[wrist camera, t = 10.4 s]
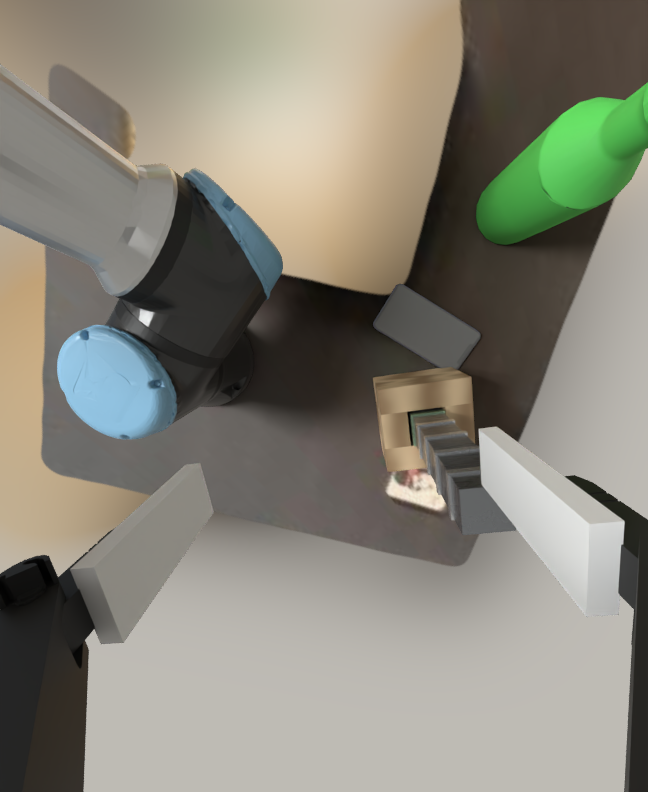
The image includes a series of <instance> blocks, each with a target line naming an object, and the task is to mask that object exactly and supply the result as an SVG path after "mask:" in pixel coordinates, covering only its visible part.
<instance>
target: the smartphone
mask: <svg viewBox="0 0 648 792" xmlns="http://www.w3.org/2000/svg"><path fill="white" fill-rule="evenodd" d="M373 326H374V328H375V329H376V330H378V331H379V332H381V333H383V334H384V335H386V336H388V337H389V338H391V339H393V340H394V341H396V342H397V343H399V344H401V345H402V346H404V347H406V348H407V349H409V350H411V351H412V352H414V353H415V354H417V355H419V356H420V357H422V358H423V359H425V360H427V361H428V362H430V363H432V364H433V365H435V366H437V367H438V368H447V367H452V368H454V369H456V370H458V369H459V367H460V366H461V364H462V363H463V362H464V360H465V359H466V357H467V356H468V355H469V353H470V352H471V351H472V349H473V348H474V346H475V345H476V344H477V342H478V341H479V339H480V333H479V331H477V330H476V329H474V328H473V327H471V326H469V325H468V324H466V323H465V322H463V321H461V320H460V319H458V318H457V317H455V316H453V315H452V314H450V313H448V312H447V311H445V310H444V309H442V308H440V307H439V306H437V305H436V304H434V303H432V302H431V301H429V300H427V299H426V298H424V297H423V296H421V295H419V294H418V293H416V292H414V291H413V290H411V289H410V288H408V287H406V286H405V285H403V284H398V285H396V287H395V288H394V290H393V291H392V293H391V295H390V296H389V298H388V299H387V301H386V303H385V304H384V306H383V308H382V309H381V311H380V313H379V314H378V316H377V317H376V319H375V321H374V322H373Z"/></svg>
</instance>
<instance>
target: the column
mask: <svg viewBox="0 0 648 792" xmlns="http://www.w3.org/2000/svg"><path fill="white" fill-rule="evenodd" d="M408 420H409V430H410V435H411V437H412V439H413V445H414V446H416V447H417V449H418V451H419V457H420V459H423V460H424V462H425V464H426V466H427V473H428V475H431V476H432V477H433V479H434V481H435V483H436V488H437V493H438V495H440V494H441V495H442V497H443V499H444V500H445V502H446V504H447V506H448V508H449V516H450V518H451V520H455V521H456V523H457V525H458V527H459V529H460V531H461V533H462V535H469V534H481V533H492V532H503V531H515V530H516V527H515V526H514V525H513V524H512V522H511V521H510V520H509V519H508V517H507V516H506V515H505V513H504V512H503V511H502V510H501V508H500V507H499V506H498V505H497V503H496V502H495V501H494V500H493V498H492V497H491V496H490V495H489V493H488V492H487V491H486V490H485V488H484V487H483V486H482V484H481V465H480V446H479V445H478V446H477V445H476V444H475V443H474V442H473V441H472V440H471V439H470V438H469V437H468V433H467V432H466V431H462V430H461V429H460V428H459V427H458V426H457V425H456V424H455V420H454V419H450V418H449V417H448V416H447V415H446V414H445V410H444V409H442V410H441V409H440V408H431V409H423V410H416V411H408Z"/></svg>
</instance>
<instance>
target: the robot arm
mask: <svg viewBox="0 0 648 792" xmlns="http://www.w3.org/2000/svg"><path fill="white" fill-rule="evenodd" d="M0 225H2V226H4V227H6V228H9V229H11V230H13V231H15V232H17V233H20V234H22V235H24V236H26V237H29V238H31V239H33V240H35V241H37V242H39V243H42V244H44V245H46V246H48V247H50V248H53V249H55V250H57V251H59V252H61V253H64V254H66V255H68V256H70V257H72V258H75V259H77V260H79V261H81V262H83V263H85V264H88V265H90V267H91V268H92V269H93V270H94V271H95V273H96V275H97V277H98V279H99V281H100V282H101V284H102V286H103V288H104V289H105V291H106V292H107V293H109V294H111V295H113V296H115V297H118V298H120V299H119V301H118V302H117V304H116V306H115V308H114V310H113V311H112V313H111V315H110V317H109V319H108V320H107V322H106V324H105V325H93V326H90V327H88V328H85V329H83V330H81V331H78V332H76V333H74V334H73V335H72V336H70V337H69V338H68V339H67V340H66V342H65V343H64V344H63V346H62V348H61V350H60V353H59V357H58V363H57V373H58V379H59V383H60V387H61V389H62V390H63V391H64V393H65V395H66V398H67V402H68V403H69V405H70V406H71V408H72V409H73V410H74V412H75V413H76V414H77V415H78V416H79V417H80V418H81V419H82V420H83V421H84V422H86V423H87V424H88V425H89V426H91V427H92V428H94V429H95V430H97V431H99V432H101V433H103V434H105V435H108V436H110V437H114V438H118V439H140V438H144V437H147V436H149V435H152V434H154V433H157V432H159V431H163V430H164V429H166V428H167V427H168V426H169V425H171V424H172V423H174V422H175V421H177V420H179V419H180V418H182V417H184V416H185V415H187V414H188V413H190V412H192V411H193V410H195V409H197V408H198V407H214V406H219V405H222V404H225V403H227V402H229V401H231V400H232V399H234V398H235V397H237V396H238V395H239V394H241V393H242V392H243V391H244V389H245V388H246V387H247V385H248V383H249V382H250V379H251V377H252V373H253V368H254V357H253V351H252V347H251V345H250V342H249V340H248V338H247V336H246V335H245V333H244V330H245V329H246V327H247V326H248V324H249V323H250V321H251V320H252V318H253V317H254V315H255V314H256V313H257V311H258V310H259V308H260V307H261V305H262V304H263V302H264V301H265V300H268V298H269V296H270V291H271V290H272V288H273V287H274V285H275V283H276V282H277V280H278V278H279V277H280V275H281V273H282V269H283V262H282V257H281V255H280V253H279V251H278V250H277V248H276V247H275V245H274V244H273V243H272V242H271V240H270V239H269V238H268V236H267V235H266V234H265V233H264V232H263V231H262V229H261V228H260V227H259V226H258V225H257V224H256V223H255V222H254V221H253V220H252V218H250V216H249V215H248V214H247V213H246V212H245V211H244V210H243V209H242V208H241V207H240V206H239V205H237V204H236V203H234V201H233V200H232V199H231V198H230V197H229V196H228V195H227V194H226V193H225V191H224V190H223V189H222V188H221V187H220V186H219V185H217V184H216V183H215V182H214V181H213V180H212V179H211V178H210V177H208V176H207V175H206V174H204V173H203V172H202V171H200V170H198V169H195V168H194V169H192V170H190V171H189V172H186V173H185V174H184V177H183V178H182V177H181V176H179V175H178V174H177V173H176V172H174V171H173V170H172V169H171V168H170V167H168V166H167V165H165V164H151V165H140V166H137V165H134V164H132V163H131V162H130V161H128V160H127V159H126V158H124V157H123V156H122V155H121V154H119V153H118V152H117V151H115V150H114V149H113V148H111V147H110V146H109V145H107V144H106V143H105V142H103V141H102V140H101V139H99V138H98V137H97V136H95V135H94V134H93V133H91V132H90V131H89V130H87V129H86V128H85V127H83V126H82V125H81V124H79V123H78V122H77V121H75V120H74V119H73V118H71V117H70V116H69V115H67V114H66V113H65V112H63V111H62V110H61V109H59V108H58V107H57V106H55V105H54V104H53V103H51V102H50V101H49V100H47V99H46V98H45V97H43V96H42V95H41V94H39V93H38V92H37V91H35V90H34V89H33V88H31V87H30V86H29V85H27V84H26V83H25V82H23V81H22V80H21V79H19V78H18V77H17V76H15V75H14V74H13V73H11V72H10V71H9V70H7V69H6V68H5V67H3V66H2V65H1V64H0ZM479 446H480V465H481V484H482V486H483V487H484V488H485V490H486V491H487V492H488V493H489V495H490V496H491V497H492V498H493V500H494V501H495V502H496V503H497V505H498V506H499V507H500V508H501V510H502V511H503V512H504V513H505V515H506V516H507V517H508V519H509V520H510V521H511V522H512V524H513V525H514V526H515V527H516V529H517V530H518V531H519V532H520V534H521V535H522V536H523V537H524V539H525V540H526V541H527V542H528V544H529V545H530V546H531V547H532V549H533V550H534V551H535V553H536V554H537V555H538V556H539V558H540V559H541V560H542V561H543V563H544V564H545V565H546V566H547V567H548V569H549V570H550V571H551V573H552V574H553V575H554V576H555V578H556V579H557V580H558V582H559V583H560V584H561V585H562V586H563V588H564V589H565V590H566V592H567V593H568V594H569V595H570V597H571V598H572V599H573V600H574V602H575V603H576V604H577V605H578V607H579V608H580V609H581V610H582V612H583V613H584V614H585V615H586V617H589V616H606V615H619V601H620V596H621V597H622V598H623V599H624V600H625V601H626V602H627V603H628V604H629V605H630V606H631V607H632V608H633V609H634V619H633V631H632V656H631V657H632V658H631V674H630V693H629V712H628V731H627V750H626V769H625V788H624V792H648V520H647V519H646V518H644V517H643V516H641V515H640V514H638V513H637V512H635V511H634V510H632V509H631V508H630V507H628V506H626V505H625V504H624V503H622V502H621V501H618V500H617V499H616V498H615V497H613V496H612V495H610V494H607V493H606V491H604V490H603V489H601V488H600V487H598V486H597V485H596V484H594V483H592V482H590V481H588V480H585V479H582V478H580V477H577V476H575V475H574V476H563V475H561V474H560V473H559V472H557V471H556V470H555V469H553V468H552V467H551V466H549V465H548V464H547V463H545V462H544V461H543V460H541V459H540V458H538V457H537V456H536V455H534V454H533V453H532V452H530V451H529V450H527V449H526V448H525V447H524V446H522V445H521V444H520V443H518V442H517V441H516V440H514V439H513V438H511V437H510V436H509V435H507V434H506V433H505V432H503V431H502V430H501V429H499V428H498V427H489V428H481V429H479ZM213 513H214V512H213V508H212V504H211V501H210V497H209V494H208V490H207V486H206V483H205V479H204V475H203V472H202V468H201V465H200V463H196V464H188V465H185V466H184V467H182V468H181V469H180V470H179V471H178V472H177V473H176V474H175V475H174V476H173V477H171V478H170V479H169V480H168V481H167V482H166V483H165V484H164V485H163V486H161V487H160V488H159V489H158V490H157V491H156V492H155V493H154V494H153V495H152V496H150V497H149V498H148V499H147V500H146V501H145V502H144V503H143V504H142V505H141V506H139V507H138V508H137V509H136V510H135V511H134V512H133V513H132V514H131V515H129V516H128V517H127V518H126V519H125V520H124V521H123V522H122V523H121V524H119V525H118V526H117V527H116V528H115V529H113V530H111V531H110V532H108V533H107V534H106V535H105V536H104V537H103V538H102V539H101V540H99V541H98V544H95V545H94V546H93V547H92V548H90V549H89V552H86V553H85V554H84V555H83V556H82V557H80V558H79V559H78V560H77V561H76V562H75V563H74V564H73V565H72V566H70V568H68V569H67V570H66V571H65V572H64V573H63V574H61V575H60V576H59V577H58V576H57V574H56V572H55V570H54V567H53V565H52V562H51V561H50V558H49V556H46V555H41V556H35V557H32V558H29V559H27V560H24V561H22V562H20V563H18V564H16V565H14V566H12V567H11V568H9V569H7V570H6V571H4V572H2V573H1V574H0V792H83V787H84V761H85V734H86V708H87V681H88V655H89V650H88V647H87V644H86V642H85V639H86V638H87V637H88V636H89V634H90V633H91V632H92V631H93V629H95V631H96V634H97V636H98V638H99V641H100V643H101V644H110V643H124V641H125V640H126V638H127V637H128V635H129V634H130V632H131V631H132V630H133V628H134V627H135V625H136V624H137V622H138V621H139V619H140V618H141V617H142V615H143V614H144V612H145V611H146V609H147V608H148V607H149V605H150V604H151V602H152V601H153V599H154V598H155V596H156V595H157V594H158V592H159V591H160V589H161V588H162V586H163V585H164V583H165V582H166V581H167V579H168V578H169V576H170V575H171V573H172V572H173V570H174V569H175V568H176V566H177V565H178V563H179V562H180V560H181V559H182V557H183V556H184V555H185V553H186V552H187V550H188V549H189V547H190V546H191V544H192V543H193V542H194V540H195V539H196V537H197V536H198V534H199V533H200V531H201V530H202V528H203V527H204V525H205V524H206V523H207V521H208V520H209V518H210V517H211V515H212V514H213Z"/></svg>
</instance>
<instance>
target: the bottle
mask: <svg viewBox="0 0 648 792" xmlns="http://www.w3.org/2000/svg"><path fill="white" fill-rule="evenodd" d="M647 148H648V83H646V84H645V85H644V86H643V87H641V88H640V89H639V90H638V91H636V92H635V93H634V94H633V95H631V96H630V97H629V98H627V99H626V100H619V99H611V98H603V97H598V98H594V99H591V100H587V101H583V102H580V103H578V104H577V105H575V106H574V107H572V108H571V109H569V110H568V111H566V112H565V113H563V114H562V115H561V116H560V117H559V118H558V119H556V120H555V121H554V122H553V123H552V124H551V125H550V126H549V127H548V128H547V129H546V130H545V131H544V132H543V133H542V134H541V135H540V136H539V137H538V138H537V139H535V140H534V141H533V142H532V143H531V144H530V145H529V146H528V147H527V148H526V149H525V150H524V151H523V152H522V153H521V154H520V155H519V156H518V157H517V158H516V159H514V160H513V161H512V162H511V163H510V164H509V165H508V166H507V167H506V168H505V169H504V170H503V171H502V172H501V173H500V174H499V175H498V176H497V177H496V178H495V179H494V180H493V181H492V182H491V183H490V184H489V185H488V186H487V187H486V189H485V190H484V191H483V192H482V194H481V196H480V199H479V201H478V204H477V209H476V220H477V224H478V228H479V230H480V231H481V233H482V234H483V235H484V237H485V238H486V239H488V240H490V241H492V242H493V243H496V244H503V245H508V244H512V243H516V242H519V241H521V240H524V239H526V238H528V237H531V236H533V235H535V234H537V233H540V232H542V231H544V230H547V229H549V228H551V227H553V226H556V225H558V224H560V223H562V222H564V221H567V220H569V219H571V218H573V217H575V216H578V215H580V214H582V213H584V212H586V211H589V210H591V209H593V208H595V207H597V206H600V205H602V204H603V203H605V202H607V201H608V200H610V199H612V198H613V197H615V196H617V194H618V193H619V192H620V191H621V190H622V189H623V188H624V187H625V186H626V185H627V184H628V183H629V181H630V180H631V179H632V177H633V175H634V173H635V171H636V169H637V167H638V165H639V163H640V161H641V159H642V156H643V154H644V151H645V149H647Z"/></svg>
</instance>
